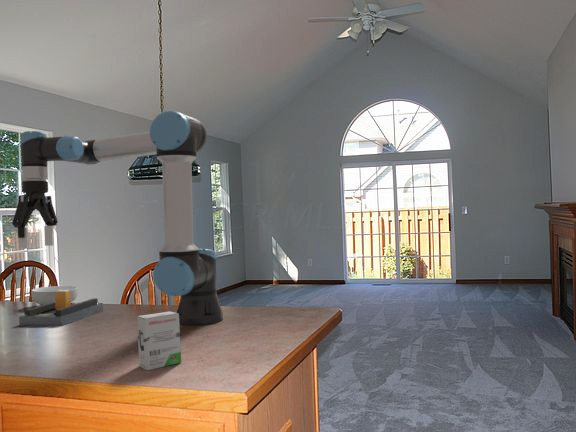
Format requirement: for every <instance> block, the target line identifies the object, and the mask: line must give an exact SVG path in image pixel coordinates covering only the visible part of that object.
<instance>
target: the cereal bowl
mask: <svg viewBox="0 0 576 432" xmlns="http://www.w3.org/2000/svg"><path fill="white" fill-rule="evenodd" d="M58 290H69V291H70V292H71V303H73V302H74V301H75V300H76V298H77V297H78V293H79V292H78V291H79V287H78V286H73V285H55V286H54V285H53V286H43V287H42V286H41V287H35V288H33V289H31V293H30V294H31V298H32V300H33V302H35V304H37V305H39V306H41V305H45V304H48V303H52V302H55V292H57V291H58Z"/></svg>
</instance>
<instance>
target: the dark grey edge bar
mask: <svg viewBox="0 0 576 432" xmlns="http://www.w3.org/2000/svg"><path fill="white" fill-rule="evenodd" d="M54 307H55V302H52V303H48V304H45V305H39V306H35V307H32V308H27V309H25V310H24V315H28V316H31V315H34V314H37V313H38V312H41V311H44V310H48V309H51V308H54Z"/></svg>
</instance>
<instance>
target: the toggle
mask: <svg viewBox="0 0 576 432" xmlns="http://www.w3.org/2000/svg"><path fill="white" fill-rule="evenodd" d="M71 303H72V302H71V292H70V291H69V290H58V291H57V292H55V309H61V308H64V307H67V306H71Z"/></svg>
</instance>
